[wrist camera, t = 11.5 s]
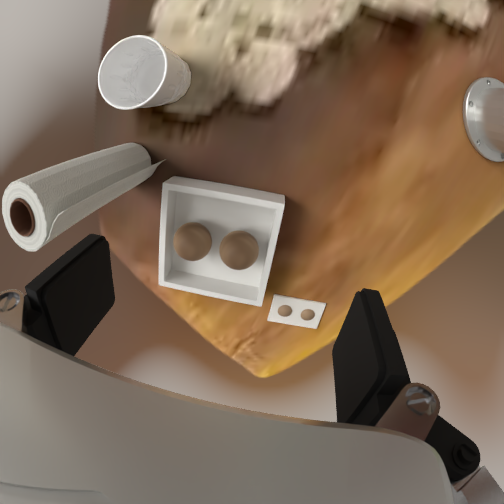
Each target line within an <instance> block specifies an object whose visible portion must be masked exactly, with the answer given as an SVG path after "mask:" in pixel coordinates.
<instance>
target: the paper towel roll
mask: <svg viewBox="0 0 504 504" xmlns="http://www.w3.org/2000/svg"><path fill="white" fill-rule="evenodd" d="M165 160H166V159H165ZM163 161H164V160H163ZM161 162H162V161H160V162H158V163H156V164H154V165H151V158H150V156H149V154H148V152H147V150H146V149H145V148H144V147H142V146H141V145H139V144H136V143H127V144H123V145H119V146H115V147H112V148H108V149H105V150H101V151H98V152H94V153H91V154H88V155H85V156H82V157H79V158H75V159H72V160H69V161H66V162H63V163H60V164H58V165H55V166H52V167H49V168H47V169H44V170H41V171H39V172H36V173H33V174H31V175H28V176H26V177H24V178H21V179H19V180H17V181H14V182H12V183H11V184H10V185H9V186H8V187H7V188H6V190H5V193H4V196H3V200H2V213H3V218H4V222H5V225H6V228H7V230H8V232H9V234H10V235H11V237H12V239H13V240H14V241H15V242H16V243H17V244H18V245H19V246H20V247H22V248H23V249H25V250H27V251H37V250H38V249H40V248H41V247H42V246H44V245H45V244H46V243H48V242H49V241H51V240H52V239H54V238H55V237H56V236H58V235H59V234H61V233H62V232H64V231H65V230H66V229H68V228H69V227H71V226H72V225H74V224H75V223H77V222H78V221H80V220H81V219H83V218H84V217H86V216H88V215H89V214H91V213H92V212H94V211H95V210H97V209H99V208H100V207H102V206H103V205H105V204H107V203H108V202H110V201H111V200H113V199H115V198H116V197H118V196H120V195H121V194H123V193H125V192H127V191H128V190H130V189H132V188H133V187H135V186H137V185H139V184H140V183H142V182H143V181H145V180H146V179H148V178H149V177H150V176H152V174H153V173H154V171H155V169H156V168H157V166H158V165H159V164H160V163H161Z"/></svg>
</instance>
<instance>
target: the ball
mask: <svg viewBox="0 0 504 504" xmlns="http://www.w3.org/2000/svg"><path fill="white" fill-rule="evenodd" d="M219 254H220V257H221V260H222V261H223V263H224V264H225V265H226V266H228V267H229V268H231V269H234V270H244V269H247V268H249V267H250V266H252V265H253V264H254V263H255V261H256V260H257V258H258V254H259V246H258V243H257V241H256V239H255V238H254V237H253V236H252V235H251V234H250V233H248V232H246V231H241V230H237V231H233V232H230V233H228V234H227V235H226V236H225V237H224V238H223V239H222V241H221V243H220V247H219Z"/></svg>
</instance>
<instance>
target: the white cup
mask: <svg viewBox="0 0 504 504" xmlns="http://www.w3.org/2000/svg"><path fill="white" fill-rule="evenodd" d="M190 84H191V71H190V69H189V66H188V64H187V63H186V62H185V61H184V60H182V59H181V58H180V57H179V56H178V55H177V54H176V53H175V52H173V51H172V50H170V49H169V48H167V47H166V46H164V45H163V44H161V43H159V42H158V41H156V40H155V39H153V38H151V37H148V36H143V35H136V36H131V37H128V38H125V39H123V40H121V41H120V42H118V43H117V44H115V45H114V46H113V47H112V48H111V49H110V50H109V51H108V52H107V54H106V55H105V57H104V59H103V60H102V63H101V65H100V68H99V73H98V86H99V90H100V93H101V95H102V96H103V98H104V99H105V101H106V102H107V103H109V104H110V105H111V106H113V107H115V108H118V109H136V108H145V107H153V106H160V105H165V104H169V103H173V102H176V101H177V100H178V99H180V98H181V97H182V96H184V95H185V93H186V91H187V90H188V88H189V86H190Z"/></svg>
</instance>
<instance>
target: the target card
mask: <svg viewBox="0 0 504 504" xmlns="http://www.w3.org/2000/svg"><path fill="white" fill-rule="evenodd" d="M325 306H326V303H323V302H317V301H311V300H305V299H300V298H294V297H289V296H283V295H278V294H274V297H273V301H272V305H271V308H270V312H269V316H268V320H267V321H273V322H278V323H284V324H290V325H296V326H302V327H308V328H314V329H317V326H318V324H319V321H320V319H321V316H322V313H323V311H324V308H325Z"/></svg>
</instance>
